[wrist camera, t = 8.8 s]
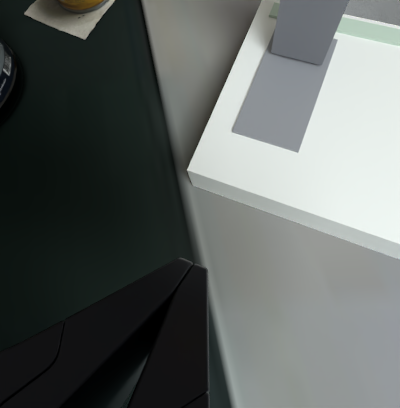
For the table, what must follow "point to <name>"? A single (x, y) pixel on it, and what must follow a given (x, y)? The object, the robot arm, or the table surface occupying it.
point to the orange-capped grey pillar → (307, 28)
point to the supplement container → (9, 80)
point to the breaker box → (312, 133)
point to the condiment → (69, 14)
